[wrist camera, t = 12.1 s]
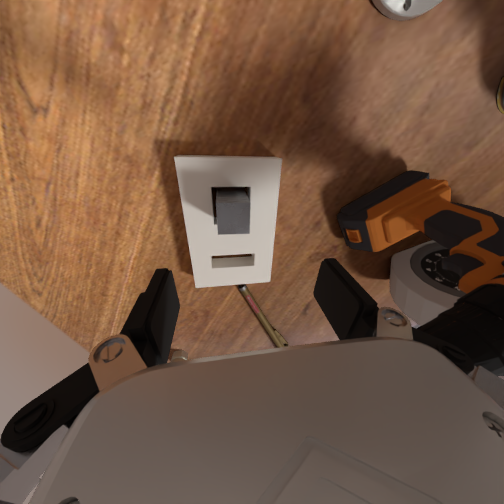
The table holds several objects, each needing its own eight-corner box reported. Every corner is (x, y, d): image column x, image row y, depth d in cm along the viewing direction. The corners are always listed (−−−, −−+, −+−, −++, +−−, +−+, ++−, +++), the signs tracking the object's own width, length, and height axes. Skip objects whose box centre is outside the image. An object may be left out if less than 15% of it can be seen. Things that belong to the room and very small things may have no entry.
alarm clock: (474, 224, 38) (673, 289, 22) (464, 252, 42) (626, 326, 26) (374, 261, 40) (489, 351, 23) (373, 285, 43) (471, 378, 27)
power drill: (313, 259, 37) (443, 423, 16) (299, 230, 33) (446, 395, 12) (422, 200, 34) (770, 303, 12) (420, 160, 30) (917, 213, 9)
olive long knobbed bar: (229, 284, 39) (249, 273, 39) (285, 366, 56) (299, 358, 56) (232, 299, 35) (255, 287, 35) (291, 382, 51) (306, 374, 51)
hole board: (178, 155, 24) (174, 156, 22) (275, 156, 26) (281, 158, 24) (197, 276, 35) (195, 287, 32) (266, 271, 36) (270, 281, 34)
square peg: (216, 186, 27) (216, 202, 20) (242, 187, 28) (250, 202, 21) (217, 212, 29) (217, 234, 22) (242, 212, 30) (249, 233, 23)
